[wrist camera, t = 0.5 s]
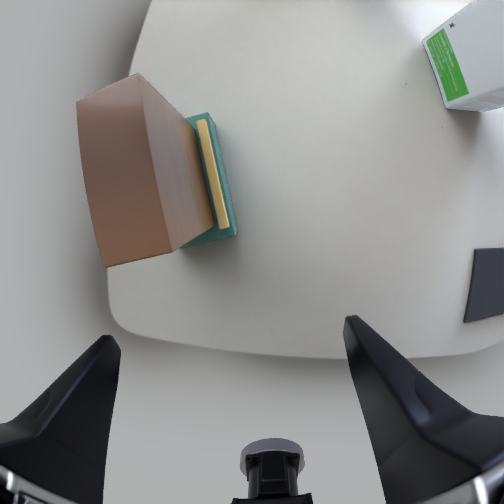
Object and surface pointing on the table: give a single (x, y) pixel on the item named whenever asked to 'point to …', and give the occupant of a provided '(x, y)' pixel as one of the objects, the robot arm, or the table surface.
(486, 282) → the mat
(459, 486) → the robot arm
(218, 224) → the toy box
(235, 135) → the table surface
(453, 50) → the cosmetic box
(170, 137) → the block
